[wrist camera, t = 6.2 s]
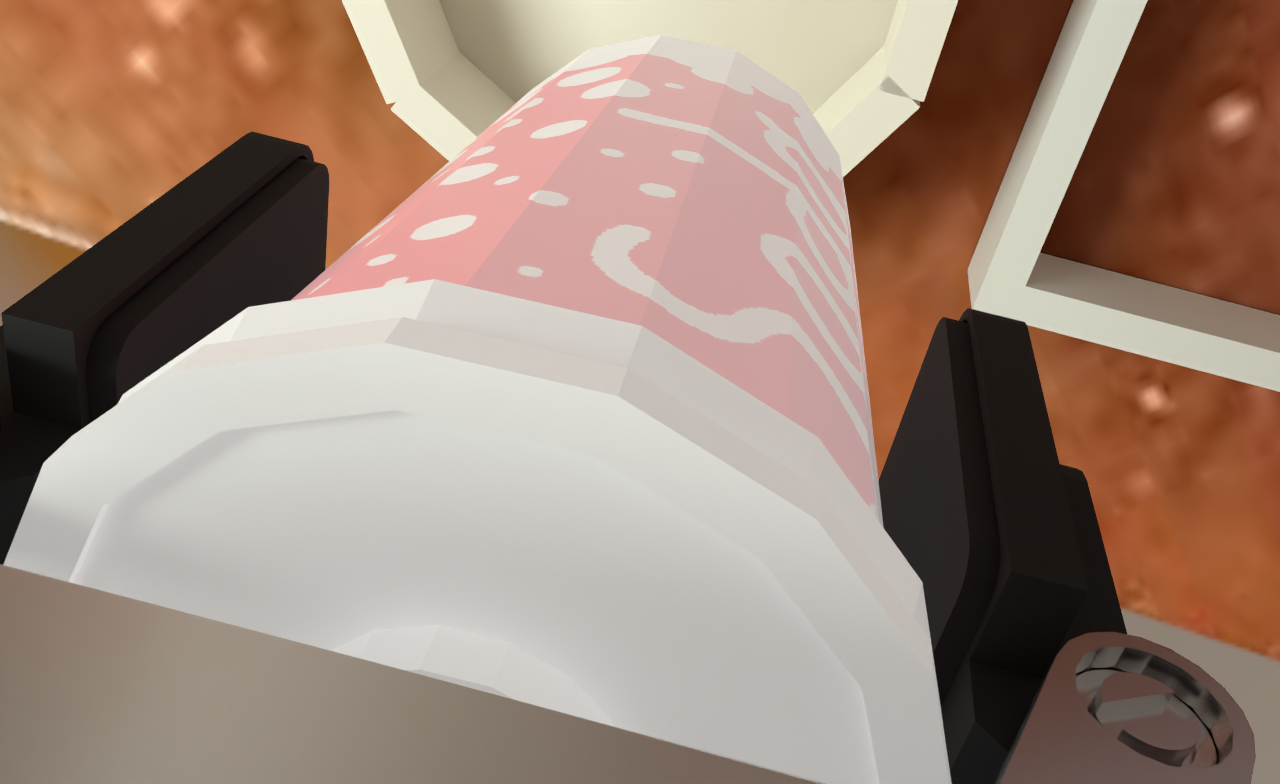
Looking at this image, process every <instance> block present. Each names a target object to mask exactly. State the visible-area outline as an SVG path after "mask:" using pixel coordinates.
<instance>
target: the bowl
mask: <svg viewBox="0 0 1280 784" xmlns="http://www.w3.org/2000/svg"><path fill="white" fill-rule="evenodd" d="M342 2H343V4H344V6H345V9H346V11H347V13H348V16H349V18H350V20H351V23H352V25H353V27H354V30H355V32H356V34H357V37H358V39H359V41H360V44H361V46H362V48H363V50H364V53H365V55H366V57H367V60H368V62H369V64H370V67H371V69H372V71H373V74H374V76H375V78H376V81H377V83H378V85H379V88H380V90H381V92H382V94H383V97H384V99H385V101H386V104H390V103H393V102H396V101H397V102H396V103H395V104H394V106H393V107H392V108H391V110H392V111H393V112H394V113H395V114H396V115H397V116H398V117H400V118H401V119H402V120H403V121H404V122H405V123H406V124H408V125H409V126H410V127H411V128H412V129H413V130H414V131H415V132H417V133H418V134H419V135H420V136H421V137H422V138H423V139H425V140H426V141H427V142H428V143H429V144H430V145H431V146H433V147H434V148H435V149H436V150H437V151H438V152H439V153H441V154H442V155H443V156H444V157H445V158H446V159H447V160H448V161H451V160H452V159H453V158H454V157H455V156H456V155H457V154H459V153H460V152H461V151H462V150H463V149H464V148H465V147H467V146H468V145H469V144H470V143H471V142H472V141H473V140H475V139H476V138H477V137H478V136H479V135H480V134H481V133H483V132H484V131H485V130H486V129H487V128H488V127H489V126H491V125H492V124H493V123H494V122H495V121H496V120H497V119H499V118H500V117H501V116H502V115H503V114H504V113H505V112H507V111H508V110H509V109H510V108H511V107H512V106H513V105H515V104H516V103H517V102H518V101H519V100H520V99H521V98H523V97H524V96H525V95H526V94H527V93H528V92H529V91H531V90H532V89H533V88H535V87H536V86H537V85H539V84H540V83H542V82H543V81H544V80H546V79H547V78H549V77H550V76H552V75H553V74H554V73H556V72H557V71H559V70H560V69H561V68H563V67H564V66H566V65H567V64H569V63H570V62H571V61H573V60H574V59H576V58H577V57H578V56H580V55H581V54H583V53H584V52H586V51H587V50H588V49H592V48H597V47H602V46H607V45H612V44H617V43H622V42H627V41H632V40H637V39H642V38H647V37H652V36H657V35H666V36H671V37H675V38H680V39H685V40H690V41H694V42H699V43H704V44H709V45H713V46H718V47H723V48H728V49H732V50H737V51H738V52H740V53H741V54H743V55H744V56H746V57H747V58H749V59H750V60H751V61H753V62H754V63H756V64H757V65H759V66H760V67H762V68H763V69H765V70H766V71H768V72H769V73H770V74H772V75H773V76H775V77H776V78H778V79H779V80H781V81H782V82H784V83H785V84H786V85H788V86H789V87H791V88H792V89H794V90H795V91H797V92H798V93H800V95H801V96H802V98H803V99H804V101H805V103H806V104H807V106H808V107H809V109H810V110H811V112H812V114H813V115H814V117H815V118H816V120H817V121H818V123H819V124H820V126H821V128H822V129H823V131H824V132H825V134H826V135H827V137H828V139H829V140H830V142H831V143H832V145H833V146H834V148H835V149H836V151H837V153H838V154H839V157H840V163H841V170H842V176H843V177H844V176H845V175H846V174H847V173H848V172H849V171H851V170H852V169H853V168H854V167H855V166H856V165H857V164H858V163H859V162H860V161H862V160H863V159H864V158H865V157H866V156H867V155H868V154H869V153H870V152H872V151H873V150H874V149H875V148H876V147H877V146H878V145H879V144H880V143H881V142H883V141H884V140H885V139H886V138H887V137H888V136H889V135H890V134H891V133H892V132H894V131H895V130H896V129H897V128H898V127H899V126H900V125H901V124H902V123H903V122H905V121H906V120H907V119H908V118H909V117H910V116H911V115H912V114H913V113H914V112H916V111H917V110H918V109H919V108H920V101H922V102H924V100H925V97H926V94H927V91H928V88H929V85H930V82H931V79H932V76H933V73H934V70H935V67H936V64H937V61H938V58H939V55H940V53H941V50H942V47H943V44H944V41H945V38H946V35H947V32H948V29H949V26H950V23H951V20H952V17H953V14H954V11H955V8H956V6H957V3H958V0H342Z"/></svg>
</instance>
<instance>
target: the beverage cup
mask: <svg viewBox="0 0 1280 784" xmlns="http://www.w3.org/2000/svg"><path fill="white" fill-rule="evenodd" d="M3 565H6V566H10V567H14V568H18V569H21V570H25V571H29V572H33V573H37V574H41V575H45V576H49V577H53V578H56V579H60V580H64V581H68V582H72V583H76V584H79V585H83V586H87V587H91V588H94V589H98V590H102V591H106V592H110V593H113V594H117V595H121V596H125V597H129V598H132V599H136V600H140V601H144V602H148V603H151V604H155V605H159V606H163V607H166V608H170V609H174V610H178V611H182V612H185V613H189V614H193V615H197V616H201V617H204V618H208V619H212V620H216V621H220V622H223V623H227V624H231V625H235V626H239V627H242V628H246V629H250V630H254V631H258V632H261V633H265V634H269V635H273V636H277V637H280V638H284V639H288V640H292V641H296V642H299V643H303V644H307V645H311V646H315V647H318V648H322V649H326V650H330V651H334V652H337V653H341V654H345V655H349V656H353V657H356V658H360V659H364V660H368V661H372V662H375V663H379V664H383V665H387V666H390V667H394V668H398V669H402V670H405V671H409V672H413V673H417V674H420V675H424V676H428V677H431V678H435V679H439V680H443V681H446V682H450V683H454V684H458V685H461V686H465V687H469V688H473V689H476V690H480V691H484V692H488V693H491V694H495V695H499V696H503V697H506V698H510V699H514V700H518V701H521V702H525V703H529V704H533V705H536V706H540V707H544V708H547V709H551V710H555V711H559V712H562V713H566V714H570V715H574V716H577V717H581V718H585V719H588V720H592V721H596V722H600V723H603V724H607V725H611V726H615V727H618V728H622V729H626V730H629V731H633V732H637V733H641V734H644V735H648V736H652V737H656V738H659V739H663V740H667V741H670V742H674V743H678V744H682V745H685V746H689V747H693V748H697V749H700V750H704V751H708V752H711V753H715V754H719V755H722V756H726V757H730V758H733V759H737V760H741V761H744V762H748V763H752V764H756V765H759V766H763V767H767V768H770V769H774V770H778V771H781V772H785V773H789V774H792V775H796V776H800V777H803V778H807V779H811V780H814V781H818V782H822V783H825V784H952V783H951V776H950V769H949V762H948V755H947V749H946V742H945V735H944V728H943V720H942V713H941V706H940V699H939V692H938V686H937V679H936V672H935V665H934V658H933V651H932V645H931V638H930V631H929V624H928V617H927V610H926V604H925V597H924V590H923V583H922V581H921V579H920V578H919V577H918V575H917V574H916V572H915V571H914V570H913V568H912V567H911V566H910V564H909V563H908V561H907V560H906V559H905V557H904V556H903V554H902V553H901V552H900V550H899V549H898V547H897V546H896V545H895V543H894V542H893V541H892V539H891V538H890V536H889V535H888V534H887V532H886V531H885V529H884V527H883V518H882V509H881V500H880V491H879V482H878V473H877V464H876V455H875V446H874V437H873V428H872V419H871V410H870V401H869V392H868V383H867V374H866V365H865V356H864V347H863V338H862V329H861V319H860V310H859V301H858V292H857V283H856V274H855V265H854V256H853V247H852V238H851V229H850V221H849V215H848V208H847V202H846V195H845V189H844V182H843V176H842V170H841V163H840V157H839V154H838V153H837V151H836V149H835V148H834V146H833V145H832V143H831V142H830V140H829V139H828V137H827V135H826V134H825V132H824V131H823V129H822V128H821V126H820V124H819V123H818V121H817V120H816V118H815V117H814V115H813V114H812V112H811V110H810V109H809V107H808V106H807V104H806V103H805V101H804V99H803V98H802V96H801V95H800V93H798V92H797V91H795V90H794V89H792V88H791V87H789V86H788V85H786V84H785V83H784V82H782V81H781V80H779V79H778V78H776V77H775V76H773V75H772V74H770V73H769V72H768V71H766V70H765V69H763V68H762V67H760V66H759V65H757V64H756V63H754V62H753V61H751V60H750V59H749V58H747V57H746V56H744V55H743V54H741V53H740V52H738V51H737V50H732V49H728V48H723V47H718V46H713V45H709V44H704V43H699V42H694V41H690V40H685V39H680V38H675V37H671V36H666V35H657V36H652V37H647V38H642V39H637V40H632V41H627V42H622V43H617V44H612V45H607V46H602V47H597V48H592V49H588V50H587V51H586V52H584V53H583V54H581V55H580V56H578V57H577V58H576V59H574V60H573V61H571V62H570V63H569V64H567V65H566V66H564V67H563V68H561V69H560V70H559V71H557V72H556V73H554V74H553V75H552V76H550V77H549V78H547V79H546V80H544V81H543V82H542V83H540V84H539V85H537V86H536V87H535V88H533V89H532V90H531V91H529V92H528V93H527V94H526V95H525V96H524V97H523V98H521V99H520V100H519V101H518V102H517V103H516V104H515V105H513V106H512V107H511V108H510V109H509V110H508V111H507V112H505V113H504V114H503V115H502V116H501V117H500V118H499V119H497V120H496V121H495V122H494V123H493V124H492V125H491V126H489V127H488V128H487V129H486V130H485V131H484V132H483V133H481V134H480V135H479V136H478V137H477V138H476V139H475V140H473V141H472V142H471V143H470V144H469V145H468V146H467V147H465V148H464V149H463V150H462V151H461V152H460V153H459V154H457V155H456V156H455V157H454V158H453V159H452V160H451V161H449V162H448V163H447V164H446V165H445V166H444V167H443V168H441V169H440V170H439V171H438V172H437V173H436V174H435V175H433V176H432V177H431V178H430V179H429V180H428V181H427V182H425V183H424V184H423V185H422V186H421V187H420V188H419V189H417V190H416V191H415V192H414V193H413V194H412V195H411V196H409V197H408V198H407V199H406V200H405V201H404V202H403V203H401V204H400V205H399V206H398V207H397V208H396V209H395V210H393V211H392V212H391V213H390V214H389V215H388V216H387V217H385V218H384V219H383V220H382V221H381V222H380V223H379V224H377V225H376V226H375V227H374V228H373V229H372V230H371V231H369V232H368V233H367V234H366V235H365V236H364V237H363V238H361V239H360V240H359V241H358V242H357V243H356V244H355V245H353V246H352V247H351V248H350V249H349V250H348V251H347V252H345V253H344V254H343V255H342V256H341V257H340V258H339V259H337V260H336V261H335V262H334V263H333V264H332V265H331V266H329V267H328V268H327V269H326V270H325V271H324V272H323V273H321V274H320V275H319V276H318V277H317V278H316V279H315V280H313V281H312V282H311V283H310V284H309V285H308V286H307V287H305V288H304V289H303V290H302V291H301V292H300V293H299V294H297V295H296V296H295V297H294V298H293V299H292V300H291V301H285V302H278V303H271V304H265V305H258V306H251V307H248V308H246V309H245V310H243V311H242V312H240V313H239V314H238V315H236V316H235V317H233V318H232V319H230V320H229V321H227V322H226V323H225V324H223V325H222V326H220V327H219V328H217V329H216V330H215V331H213V332H212V333H210V334H209V335H207V336H206V337H205V338H203V339H202V340H200V341H199V342H197V343H196V344H194V345H193V346H192V347H190V348H189V349H187V350H186V351H184V352H183V353H182V354H180V355H179V356H177V357H176V358H174V359H173V360H171V361H170V362H169V363H167V364H166V365H164V366H163V367H161V368H160V369H159V370H157V371H156V372H154V373H153V374H151V375H150V376H149V377H147V378H146V379H144V380H143V381H141V382H140V383H138V384H137V385H136V386H134V387H133V388H131V389H130V390H128V391H127V392H126V393H124V394H123V395H122V397H121V399H120V400H119V402H118V404H117V405H116V406H114V407H113V408H112V409H110V410H109V411H107V412H106V413H104V414H103V415H101V416H100V417H99V418H97V419H96V420H94V421H93V422H91V423H90V424H88V425H87V426H86V427H84V428H83V429H81V430H80V431H78V432H77V433H75V434H74V435H73V436H71V437H70V438H69V439H68V440H67V441H66V442H65V443H64V444H63V445H62V446H61V447H60V448H59V449H58V450H57V451H55V452H54V453H53V454H52V455H51V456H50V457H49V458H48V459H47V460H46V461H45V462H44V463H43V465H42V468H41V470H40V473H39V476H38V478H37V481H36V483H35V486H34V488H33V491H32V493H31V496H30V498H29V501H28V503H27V506H26V509H25V511H24V514H23V516H22V519H21V521H20V524H19V526H18V529H17V531H16V534H15V536H14V539H13V541H12V544H11V547H10V549H9V552H8V554H7V557H6V559H5V562H4V564H3Z"/></svg>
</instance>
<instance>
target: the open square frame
mask: <svg viewBox="0 0 1280 784" xmlns="http://www.w3.org/2000/svg"><path fill="white" fill-rule="evenodd" d="M1147 1H1148V0H1073V3H1072V6H1071V8H1070V11H1069V13H1068V16H1067V18H1066V21H1065V23H1064V26H1063V28H1062V31H1061V34H1060V36H1059V39H1058V41H1057V44H1056V46H1055V49H1054V51H1053V54H1052V56H1051V59H1050V61H1049V64H1048V67H1047V69H1046V72H1045V74H1044V77H1043V79H1042V82H1041V84H1040V87H1039V89H1038V92H1037V94H1036V97H1035V100H1034V102H1033V105H1032V107H1031V110H1030V112H1029V115H1028V117H1027V120H1026V122H1025V125H1024V128H1023V130H1022V133H1021V135H1020V138H1019V140H1018V143H1017V145H1016V148H1015V150H1014V153H1013V155H1012V158H1011V161H1010V163H1009V166H1008V168H1007V171H1006V173H1005V176H1004V178H1003V181H1002V183H1001V186H1000V188H999V191H998V194H997V196H996V199H995V201H994V204H993V206H992V209H991V211H990V214H989V216H988V219H987V222H986V224H985V227H984V229H983V232H982V234H981V237H980V239H979V242H978V244H977V247H976V249H975V252H974V255H973V257H972V260H971V262H970V265H969V267H968V279H969V288H970V297H971V306H972V309H974V310H978V311H982V312H986V313H990V314H994V315H998V316H1003V317H1007V318H1011V319H1015V320H1019V321H1023V322H1025V323H1026V325H1030V326H1033V327H1037V328H1041V329H1045V330H1049V331H1052V332H1056V333H1060V334H1064V335H1067V336H1071V337H1075V338H1079V339H1083V340H1086V341H1090V342H1094V343H1098V344H1101V345H1105V346H1109V347H1113V348H1117V349H1120V350H1124V351H1128V352H1132V353H1135V354H1139V355H1143V356H1147V357H1151V358H1154V359H1158V360H1162V361H1166V362H1169V363H1173V364H1177V365H1181V366H1184V367H1188V368H1192V369H1196V370H1200V371H1203V372H1207V373H1211V374H1215V375H1218V376H1222V377H1226V378H1230V379H1234V380H1237V381H1241V382H1245V383H1249V384H1252V385H1256V386H1260V387H1264V388H1268V389H1271V390H1275V391H1279V392H1280V315H1277V314H1273V313H1269V312H1266V311H1262V310H1258V309H1254V308H1250V307H1246V306H1243V305H1239V304H1235V303H1231V302H1227V301H1224V300H1220V299H1216V298H1212V297H1208V296H1204V295H1201V294H1197V293H1193V292H1189V291H1185V290H1181V289H1178V288H1174V287H1170V286H1166V285H1162V284H1159V283H1155V282H1151V281H1147V280H1143V279H1139V278H1136V277H1132V276H1128V275H1124V274H1120V273H1116V272H1113V271H1109V270H1105V269H1101V268H1097V267H1093V266H1090V265H1086V264H1082V263H1078V262H1074V261H1071V260H1067V259H1063V258H1059V257H1055V256H1051V255H1048V254H1044V253H1040V251H1041V249H1042V246H1043V244H1044V242H1045V239H1046V237H1047V235H1048V232H1049V230H1050V228H1051V225H1052V223H1053V220H1054V218H1055V216H1056V213H1057V211H1058V209H1059V206H1060V204H1061V202H1062V199H1063V197H1064V195H1065V192H1066V190H1067V188H1068V185H1069V183H1070V181H1071V178H1072V176H1073V174H1074V171H1075V169H1076V167H1077V164H1078V162H1079V160H1080V157H1081V155H1082V153H1083V150H1084V148H1085V146H1086V143H1087V141H1088V139H1089V136H1090V134H1091V132H1092V129H1093V127H1094V125H1095V122H1096V120H1097V118H1098V115H1099V113H1100V111H1101V108H1102V106H1103V104H1104V101H1105V99H1106V97H1107V94H1108V92H1109V90H1110V87H1111V85H1112V83H1113V80H1114V78H1115V76H1116V73H1117V71H1118V69H1119V66H1120V64H1121V62H1122V59H1123V57H1124V55H1125V52H1126V50H1127V47H1128V45H1129V43H1130V40H1131V38H1132V36H1133V33H1134V31H1135V29H1136V26H1137V24H1138V22H1139V19H1140V17H1141V15H1142V12H1143V10H1144V8H1145V5H1146V3H1147Z"/></svg>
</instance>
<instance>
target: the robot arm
mask: <svg viewBox="0 0 1280 784" xmlns="http://www.w3.org/2000/svg"><path fill="white" fill-rule="evenodd" d="M328 196H329V174H328V169H327V167H326V166H325V165H324V164H321V163H317V162H314V159H313V154H312V151H311V149H310V148H309V146H307V145H304V144H300V143H296V142H292V141H288V140H284V139H280V138H275V137H271V136H267V135H263V134H259V133H255V132H250V133H248V134H246V135H244V136H243V137H242V138H240V139H239V140H238V141H236V142H235V143H233V144H232V145H231V146H229V147H228V148H227V149H225V150H224V151H223V152H221V153H220V154H218V155H217V156H216V157H214V158H213V159H212V160H210V161H209V162H207V163H206V164H205V165H203V166H202V167H201V168H199V169H198V170H197V171H195V172H194V173H192V174H191V175H190V176H188V177H187V178H186V179H184V180H183V181H181V182H180V183H179V184H177V185H176V186H175V187H173V188H172V189H171V190H169V191H168V192H166V193H165V194H164V195H162V196H161V197H160V198H158V199H157V200H156V201H154V202H153V203H151V204H150V205H149V206H147V207H146V208H145V209H143V210H142V211H140V212H139V213H138V214H136V215H135V216H134V217H132V218H131V219H130V220H128V221H127V222H125V223H124V224H123V225H121V226H120V227H119V228H117V229H116V230H114V231H113V232H112V233H110V234H109V235H108V236H106V237H105V238H104V239H102V240H101V241H99V242H98V243H97V244H95V245H94V246H93V247H91V248H90V249H88V250H87V251H86V252H84V253H83V254H82V255H80V256H79V257H78V258H76V259H75V260H73V261H72V262H71V263H69V264H68V265H67V266H65V267H64V268H63V269H61V270H60V271H58V272H57V273H56V274H54V275H53V276H52V277H50V278H49V279H47V280H46V281H45V282H43V283H42V284H41V285H39V286H38V287H36V288H35V289H34V290H33V291H31V292H30V293H28V294H27V295H26V296H24V297H23V298H21V299H20V300H19V301H17V302H16V303H15V304H13V305H12V306H10V307H9V308H8V309H6V310H5V311H4V312H2V322H3V325H2V326H1V327H0V784H825V783H822V782H818V781H814V780H811V779H807V778H803V777H800V776H796V775H792V774H789V773H785V772H781V771H778V770H774V769H770V768H767V767H763V766H759V765H756V764H752V763H748V762H744V761H741V760H737V759H733V758H730V757H726V756H722V755H719V754H715V753H711V752H708V751H704V750H700V749H697V748H693V747H689V746H685V745H682V744H678V743H674V742H670V741H667V740H663V739H659V738H656V737H652V736H648V735H644V734H641V733H637V732H633V731H629V730H626V729H622V728H618V727H615V726H611V725H607V724H603V723H600V722H596V721H592V720H588V719H585V718H581V717H577V716H574V715H570V714H566V713H562V712H559V711H555V710H551V709H547V708H544V707H540V706H536V705H533V704H529V703H525V702H521V701H518V700H514V699H510V698H506V697H503V696H499V695H495V694H491V693H488V692H484V691H480V690H476V689H473V688H469V687H465V686H461V685H458V684H454V683H450V682H446V681H443V680H439V679H435V678H431V677H428V676H424V675H420V674H417V673H413V672H409V671H405V670H402V669H398V668H394V667H390V666H387V665H383V664H379V663H375V662H372V661H368V660H364V659H360V658H356V657H353V656H349V655H345V654H341V653H337V652H334V651H330V650H326V649H322V648H318V647H315V646H311V645H307V644H303V643H299V642H296V641H292V640H288V639H284V638H280V637H277V636H273V635H269V634H265V633H261V632H258V631H254V630H250V629H246V628H242V627H239V626H235V625H231V624H227V623H223V622H220V621H216V620H212V619H208V618H204V617H201V616H197V615H193V614H189V613H185V612H182V611H178V610H174V609H170V608H166V607H163V606H159V605H155V604H151V603H148V602H144V601H140V600H136V599H132V598H129V597H125V596H121V595H117V594H113V593H110V592H106V591H102V590H98V589H94V588H91V587H87V586H83V585H79V584H76V583H72V582H68V581H64V580H60V579H56V578H53V577H49V576H45V575H41V574H37V573H33V572H29V571H25V570H21V569H18V568H14V567H10V566H6V565H3V564H4V562H5V559H6V557H7V554H8V552H9V549H10V547H11V544H12V541H13V539H14V536H15V534H16V531H17V529H18V526H19V524H20V521H21V519H22V516H23V514H24V511H25V509H26V506H27V503H28V501H29V498H30V496H31V493H32V491H33V488H34V486H35V483H36V481H37V478H38V476H39V473H40V470H41V468H42V465H43V463H44V462H45V461H46V460H47V459H48V458H49V457H50V456H51V455H52V454H53V453H54V452H55V451H57V450H58V449H59V448H60V447H61V446H62V445H63V444H64V443H65V442H66V441H67V440H68V439H69V438H70V437H71V436H73V435H74V434H75V433H77V432H78V431H80V430H81V429H83V428H84V427H86V426H87V425H88V424H90V423H91V422H93V421H94V420H96V419H97V418H99V417H100V416H101V415H103V414H104V413H106V412H107V411H109V410H110V409H112V408H113V407H114V406H116V405H117V404H118V402H119V400H120V399H121V397H122V395H123V394H124V393H126V392H127V391H128V390H130V389H131V388H133V387H134V386H136V385H137V384H138V383H140V382H141V381H143V380H144V379H146V378H147V377H149V376H150V375H151V374H153V373H154V372H156V371H157V370H159V369H160V368H161V367H163V366H164V365H166V364H167V363H169V362H170V361H171V360H173V359H174V358H176V357H177V356H179V355H180V354H182V353H183V352H184V351H186V350H187V349H189V348H190V347H192V346H193V345H194V344H196V343H197V342H199V341H200V340H202V339H203V338H205V337H206V336H207V335H209V334H210V333H212V332H213V331H215V330H216V329H217V328H219V327H220V326H222V325H223V324H225V323H226V322H227V321H229V320H230V319H232V318H233V317H235V316H236V315H238V314H239V313H240V312H242V311H243V310H245V309H246V308H248V307H251V306H258V305H265V304H271V303H278V302H285V301H291V300H292V299H293V298H294V297H295V296H296V295H297V294H299V293H300V292H301V291H302V290H303V289H304V288H305V287H307V286H308V285H309V284H310V283H311V282H312V281H313V280H315V279H316V278H317V277H318V276H319V275H320V274H321V273H323V272H324V271H325V262H326V240H327V218H328ZM879 491H880V500H881V509H882V518H883V527H884V529H885V531H886V532H887V534H888V535H889V536H890V538H891V539H892V541H893V542H894V543H895V545H896V546H897V547H898V549H899V550H900V552H901V553H902V554H903V556H904V557H905V559H906V560H907V561H908V563H909V564H910V566H911V567H912V568H913V570H914V571H915V572H916V574H917V575H918V577H919V578H920V579H921V581H922V583H923V590H924V597H925V604H926V610H927V617H928V624H929V631H930V638H931V645H932V651H933V658H934V665H935V672H936V679H937V686H938V692H939V699H940V706H941V713H942V720H943V728H944V735H945V742H946V749H947V755H948V762H949V769H950V776H951V783H952V784H1251V779H1252V773H1253V768H1254V763H1255V757H1256V756H1255V741H1254V734H1253V731H1252V729H1251V727H1250V725H1249V723H1248V721H1247V719H1246V717H1245V714H1244V712H1243V710H1242V709H1241V708H1240V707H1239V705H1238V704H1237V703H1236V702H1235V700H1234V699H1233V698H1232V697H1231V696H1230V694H1229V693H1228V692H1227V691H1226V689H1225V688H1224V687H1223V686H1222V685H1221V684H1219V683H1218V682H1217V681H1216V680H1215V679H1213V678H1212V677H1211V676H1210V675H1209V674H1208V673H1206V672H1205V671H1204V670H1203V669H1202V668H1200V667H1199V666H1198V665H1196V664H1194V663H1193V662H1191V661H1190V660H1188V659H1186V658H1184V657H1183V656H1181V655H1180V654H1178V653H1176V652H1175V651H1173V650H1171V649H1169V648H1167V647H1164V646H1162V645H1159V644H1156V643H1154V642H1151V641H1149V640H1146V639H1144V638H1141V637H1137V636H1132V635H1127V632H1126V628H1125V624H1124V620H1123V617H1122V613H1121V609H1120V605H1119V601H1118V597H1117V594H1116V590H1115V586H1114V582H1113V578H1112V575H1111V571H1110V567H1109V563H1108V559H1107V556H1106V552H1105V548H1104V544H1103V540H1102V536H1101V533H1100V529H1099V525H1098V521H1097V517H1096V514H1095V510H1094V506H1093V502H1092V498H1091V495H1090V491H1089V487H1088V483H1087V480H1086V478H1085V476H1084V474H1083V472H1082V471H1080V470H1078V469H1076V468H1072V467H1068V466H1065V465H1061V464H1059V460H1058V456H1057V452H1056V448H1055V443H1054V439H1053V435H1052V430H1051V426H1050V422H1049V418H1048V413H1047V409H1046V405H1045V400H1044V396H1043V392H1042V388H1041V383H1040V379H1039V375H1038V370H1037V366H1036V362H1035V357H1034V353H1033V349H1032V345H1031V340H1030V336H1029V332H1028V327H1027V325H1026V323H1025V322H1023V321H1019V320H1015V319H1011V318H1007V317H1003V316H998V315H994V314H990V313H986V312H982V311H978V310H974V309H969V308H968V309H967V310H966V311H965V312H964V313H963V315H962V316H961V318H960V320H959V321H957V320H953V319H949V318H945V317H943V318H942V319H941V320H940V321H939V323H938V325H937V327H936V329H935V332H934V334H933V337H932V340H931V342H930V345H929V348H928V350H927V353H926V356H925V358H924V361H923V364H922V366H921V369H920V372H919V374H918V377H917V380H916V382H915V385H914V388H913V390H912V393H911V396H910V399H909V401H908V404H907V407H906V409H905V412H904V415H903V417H902V420H901V423H900V425H899V428H898V431H897V433H896V436H895V439H894V441H893V444H892V447H891V449H890V452H889V455H888V457H887V460H886V463H885V465H884V468H883V471H882V473H881V476H880V479H879Z"/></svg>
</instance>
